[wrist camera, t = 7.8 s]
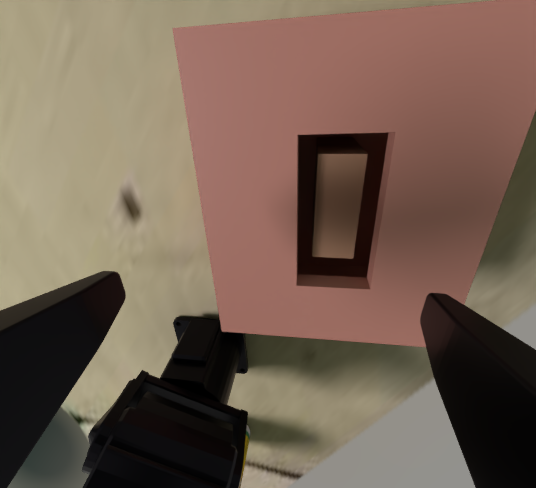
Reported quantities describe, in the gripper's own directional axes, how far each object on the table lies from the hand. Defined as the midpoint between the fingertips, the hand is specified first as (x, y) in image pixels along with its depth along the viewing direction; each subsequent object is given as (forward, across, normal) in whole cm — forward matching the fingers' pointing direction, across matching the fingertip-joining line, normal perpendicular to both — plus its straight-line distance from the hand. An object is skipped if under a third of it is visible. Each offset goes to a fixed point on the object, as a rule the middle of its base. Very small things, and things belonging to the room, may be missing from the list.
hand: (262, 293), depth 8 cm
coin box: (+12, -2, 0) cm, 12 cm away
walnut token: (+11, -2, 0) cm, 11 cm away
